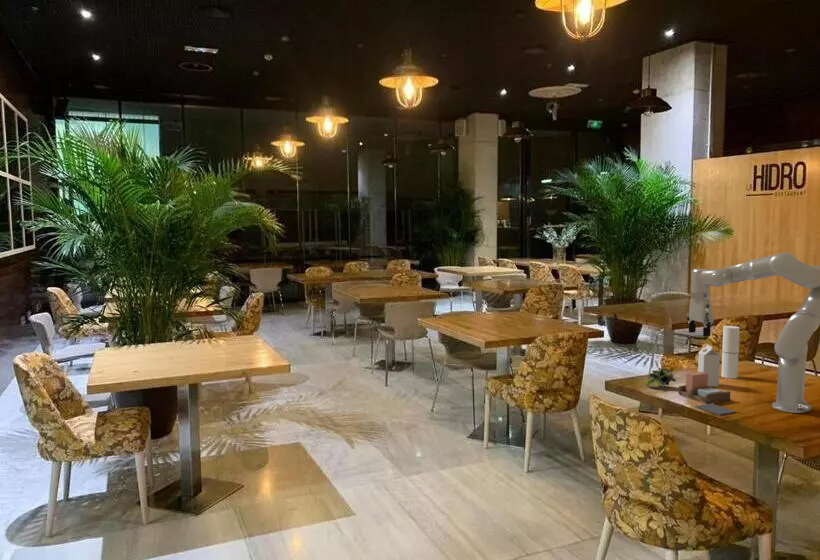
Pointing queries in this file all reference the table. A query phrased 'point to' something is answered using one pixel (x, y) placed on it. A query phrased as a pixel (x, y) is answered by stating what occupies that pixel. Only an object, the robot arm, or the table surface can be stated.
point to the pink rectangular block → (696, 381)
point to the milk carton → (709, 365)
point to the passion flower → (660, 377)
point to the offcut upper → (707, 391)
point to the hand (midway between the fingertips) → (699, 334)
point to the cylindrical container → (730, 351)
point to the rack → (709, 397)
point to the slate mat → (715, 409)
